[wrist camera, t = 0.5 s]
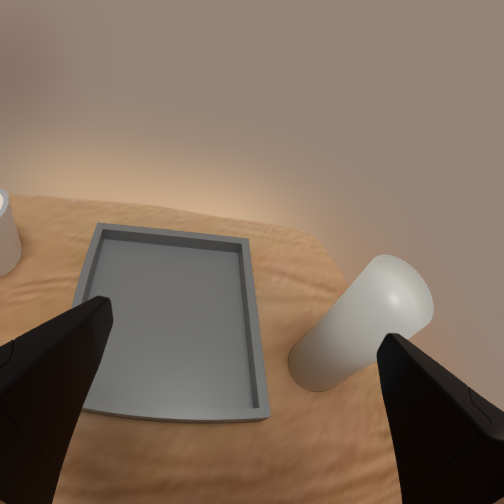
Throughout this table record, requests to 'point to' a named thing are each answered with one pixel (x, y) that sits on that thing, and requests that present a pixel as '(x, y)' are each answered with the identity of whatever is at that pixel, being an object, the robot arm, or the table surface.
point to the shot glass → (8, 236)
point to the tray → (176, 327)
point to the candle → (361, 324)
